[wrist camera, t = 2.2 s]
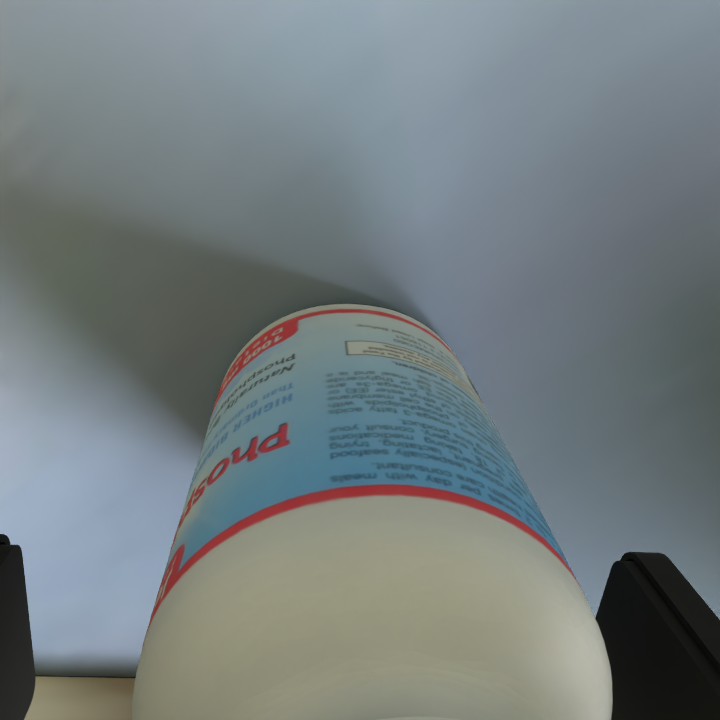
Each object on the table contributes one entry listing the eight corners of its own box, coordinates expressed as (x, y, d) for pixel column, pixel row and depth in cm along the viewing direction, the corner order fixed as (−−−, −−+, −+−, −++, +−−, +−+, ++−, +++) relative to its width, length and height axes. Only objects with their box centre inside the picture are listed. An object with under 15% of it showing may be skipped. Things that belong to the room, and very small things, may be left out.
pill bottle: (233, 274, 14) (-4, 816, 3) (497, 318, 15) (943, 860, 4) (206, 502, 16) (14, 1242, 6) (435, 528, 17) (631, 1215, 7)
